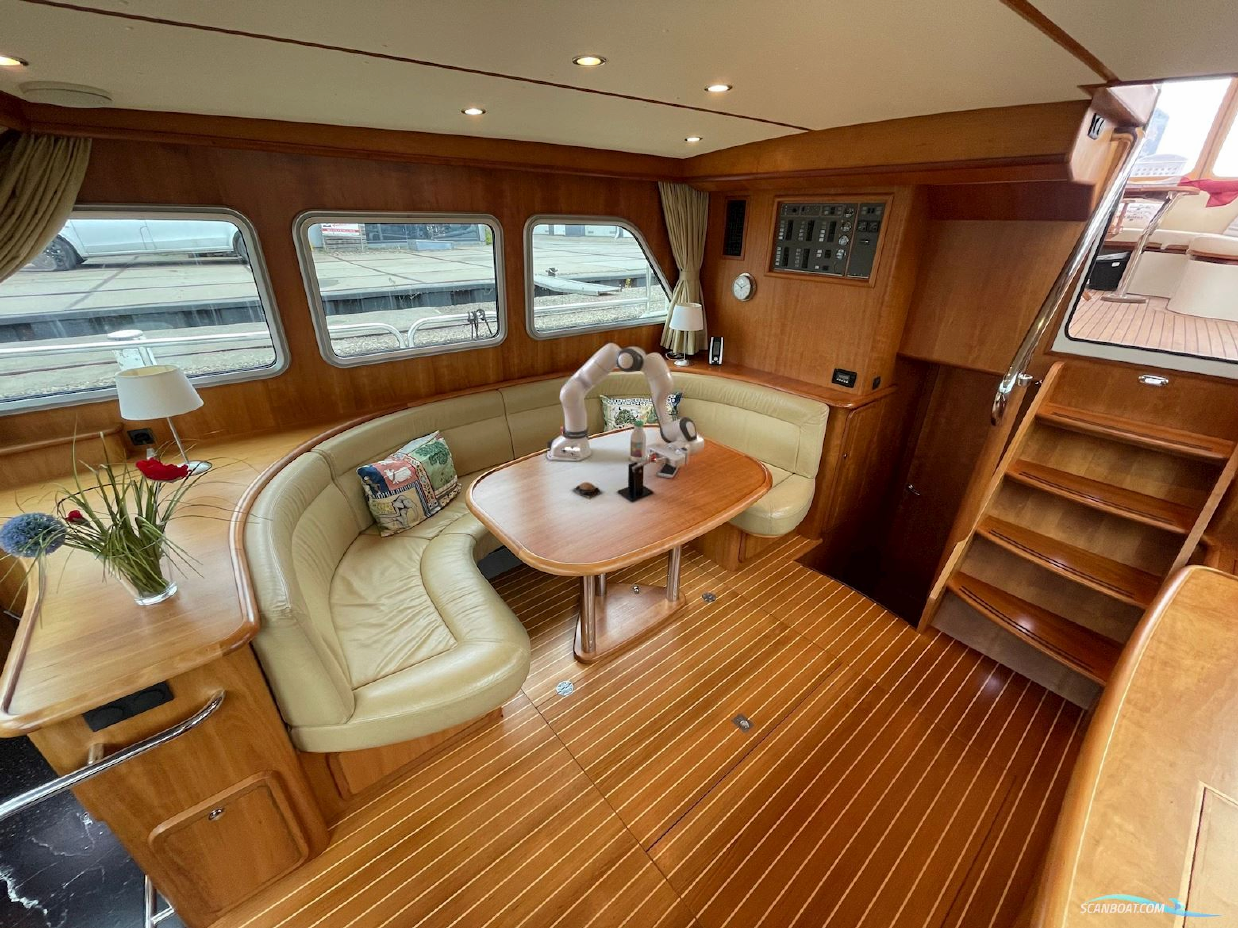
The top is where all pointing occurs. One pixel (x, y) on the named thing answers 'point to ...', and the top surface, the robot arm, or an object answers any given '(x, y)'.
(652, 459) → the lever
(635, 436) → the milk bottle
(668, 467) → the smartphone
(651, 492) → the bracket
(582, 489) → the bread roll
